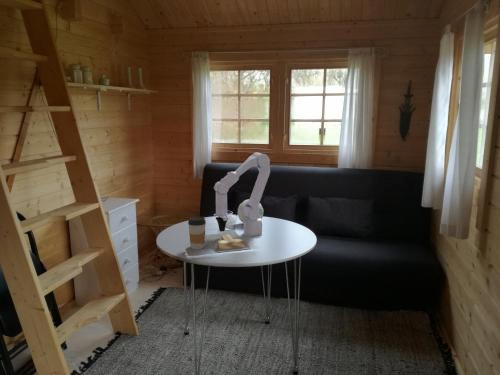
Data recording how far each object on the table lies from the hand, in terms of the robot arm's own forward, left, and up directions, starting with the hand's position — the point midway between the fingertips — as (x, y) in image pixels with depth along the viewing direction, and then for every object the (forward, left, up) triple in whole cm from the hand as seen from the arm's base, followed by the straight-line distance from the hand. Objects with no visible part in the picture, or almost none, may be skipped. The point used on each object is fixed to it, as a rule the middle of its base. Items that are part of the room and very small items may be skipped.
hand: (222, 231), depth 206 cm
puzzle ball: (-23, -21, -5) cm, 31 cm away
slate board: (0, +7, -4) cm, 8 cm away
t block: (0, +12, -3) cm, 13 cm away
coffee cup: (+15, +11, -5) cm, 19 cm away
